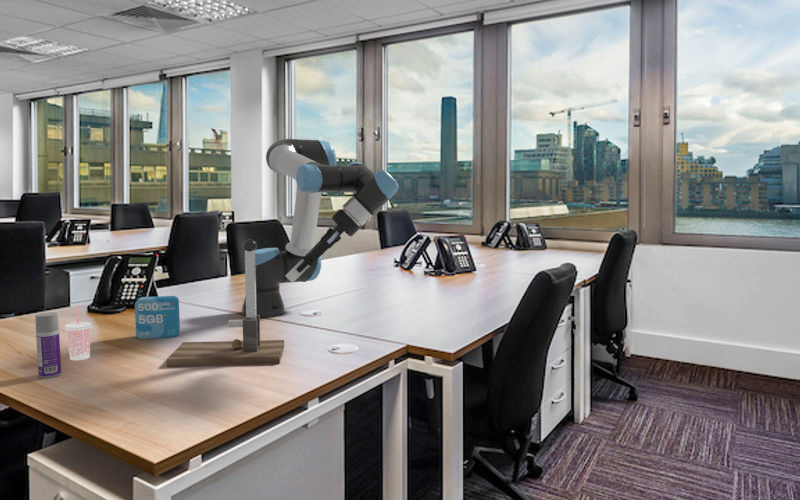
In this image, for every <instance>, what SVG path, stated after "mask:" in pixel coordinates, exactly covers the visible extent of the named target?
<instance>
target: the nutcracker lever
mask: <svg viewBox="0 0 800 500" xmlns="http://www.w3.org/2000/svg"><path fill="white" fill-rule="evenodd" d="M242 247H243V251H244V277H245V278H244V280H245V296H246V316H245V320H257V318H256V261H255V250H258V249H257V248H258V243H257V242H256V241H255V240H253V239H251V238H250V239H246V240H245V241H244V242H243V244H242ZM243 320H244V319H229V320H228V321H227V327H228V328H243ZM257 323H258V321H257Z"/></svg>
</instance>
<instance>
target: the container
mask: <svg viewBox="0 0 800 500" xmlns="http://www.w3.org/2000/svg"><path fill="white" fill-rule="evenodd" d="M35 338H36V339H35V340H36V349H37V350H36V353H37V368H38V369H37V370H38V372H37V373H38V378H39V379H51V378H56V377H59V376H61V375H62V360H61V346H60V345H61V343H60V339H61V338H60V327H59V317H58V313H57V312H52V311H51V312H48V311H47V312H42V313H41V312H40V313H38V314H35Z"/></svg>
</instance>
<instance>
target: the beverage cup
mask: <svg viewBox="0 0 800 500" xmlns="http://www.w3.org/2000/svg"><path fill="white" fill-rule="evenodd" d="M75 309H76V310H75V311H76V322H72V323H68V324H65V325H64V330H65V331H66V337H67V338H66V339H67V345H68V346H67V347H68V354H69V359H70V361H83V360H87V359H90V357H91V354H90V353H91V328H92V323H91V322H88V321H87V322H86V321H80V315H79V314H80V313H79V305H76V308H75Z"/></svg>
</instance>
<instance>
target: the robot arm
mask: <svg viewBox="0 0 800 500" xmlns="http://www.w3.org/2000/svg"><path fill="white" fill-rule="evenodd" d="M265 161H266V164H267V167H268V168H269V169H270V170H271V171H273V172H274V173H276V174H278V175H283V176H284V175H285V176H287V177H289V178H291V179H293V180H294V181H295V182H296V185H297V187H296V193H295V194H296V195H295V202H294V210H293V220H292V226H291V234H290V241H289V242H287V243H286V245H285V250H284V251H283V250H282V251H280V250H279V248H278V247H265V248H259V249H256V250H255V261H256V315H260V318H268V317H269V318H270V317H276V316H277V317H278V316H280V315H283V314H284V313H285V312H286V311H285V304H284V301H283V297H282V295H281V292H280V284H285V283H286V284H289V283H292V284H293V283H299V282H300V283H301V282H302V283H306V282H311V281H314V280H316V279H317V278H318V276H319V275H320V272H321V270H322V255H324V253H325V252H326V251H328V250H329V249H331V248H332V247H333V246H334V245H335V244H336V243H339V241H340V240H341V239H342V237H341V236H342V234H343V233H345V234H346V235H347V236H348V237H353V236H354V235H355V234H356V233H357V232H358V231H359V230H360V226H364V225H365V224H366V222H368V223H370V222H371V221H372V220H371V218H372V217H373V216H374V215H375V214H376V213H377V212H378V211H379V210H380V209H381V208H382V207H383V206H384V205H385V204H386V203H387V202H388V201H390V200H391V199H392V197H393V196H394V195H395V194H396V192H397V191H398V190H399V187H400V186H399V183H398V182H397V181H396V179H395V178H394V177H393V176H392V175H391V174H390V173H389V172H387V170H385V169H383V168H382V169H381V168H380V169H379V170H377V171H376V172H374V171H372V169H370V168H369V166H367V165H365V164H364V163H361V162H359V161H353V162H350V163H348V164H347V165H340V164H339V165H337V155H336V151H335V149H334V146H333V145H332V144H331V142H329V141H326V140H319V139H301V138H300V139H299V138H298V139H297V138H295V139H294V138H283V139H280V140H277V141H275V142H273V143H272V144H271V145H270V146H269V147H268V149H267V151H266V154H265ZM322 193H336V194H337V193H349V194H352V193H353V195H352V196H351V197H350V198H349V199H348V200H347V201H346V202H345V203H343V205H342V208H341V209H338V210H337V211H336V212H335V213H334V214H333V215H332V217H331V219H332V221H334V223H335V224H336V226H334V227H333V228H332V227H331V226H330V227H329V228H328V229H327V231H326V232H325V233H324V234H323V235H322V237H320V240H319V241H318V242H317V243H316V244H315V240H316V233H317V226H318V220H319V213H320V206H321V204H320V203H321V199H322ZM354 193H355V194H354ZM241 315H243V316H244V317H246V295H245V297H244V301H243V303H242V307H241Z"/></svg>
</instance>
